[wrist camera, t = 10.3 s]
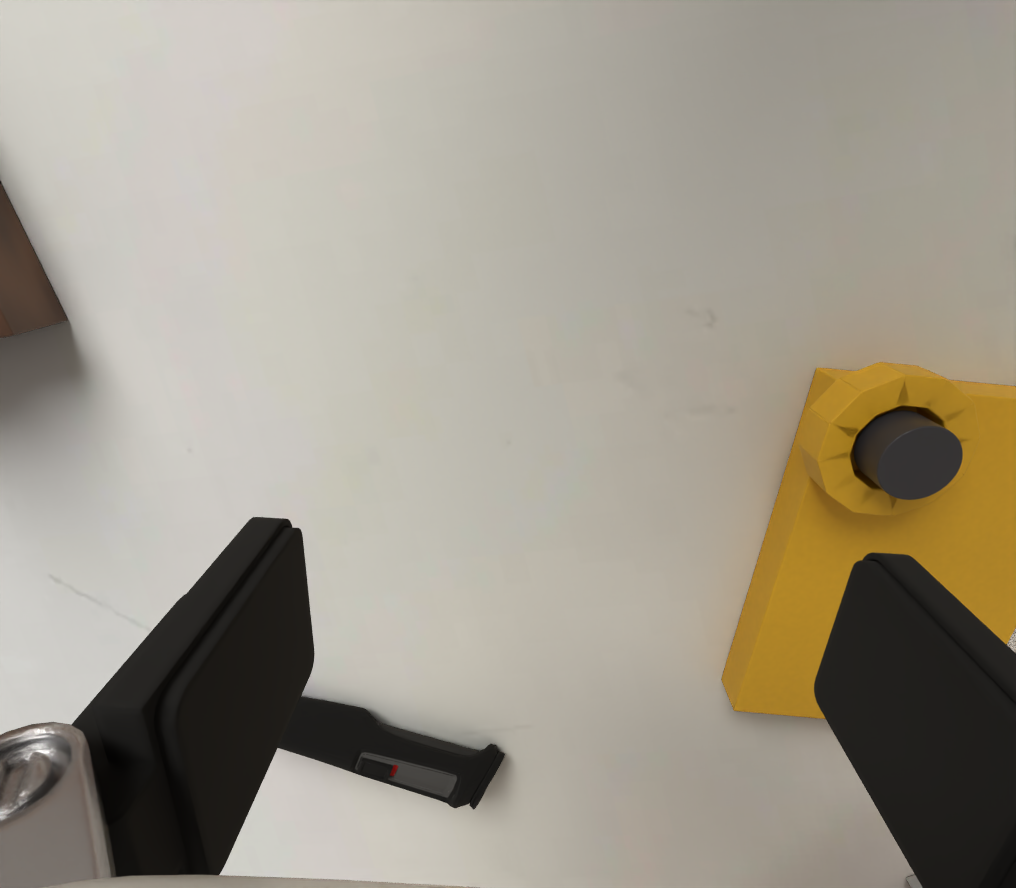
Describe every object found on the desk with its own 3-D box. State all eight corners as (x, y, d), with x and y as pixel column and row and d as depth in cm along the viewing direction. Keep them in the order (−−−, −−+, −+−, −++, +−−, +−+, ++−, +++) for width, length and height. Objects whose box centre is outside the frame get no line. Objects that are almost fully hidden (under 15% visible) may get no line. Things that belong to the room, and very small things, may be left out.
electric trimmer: (256, 659, 33) (229, 704, 30) (509, 743, 35) (506, 792, 32) (242, 704, 35) (216, 751, 32) (486, 783, 37) (481, 833, 34)
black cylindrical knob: (867, 406, 23) (893, 422, 21) (944, 413, 23) (977, 430, 21) (843, 476, 24) (866, 496, 22) (916, 483, 24) (945, 503, 22)
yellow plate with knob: (800, 343, 25) (847, 368, 22) (1097, 371, 25) (1193, 402, 22) (703, 677, 33) (726, 739, 29) (933, 698, 33) (985, 762, 29)
